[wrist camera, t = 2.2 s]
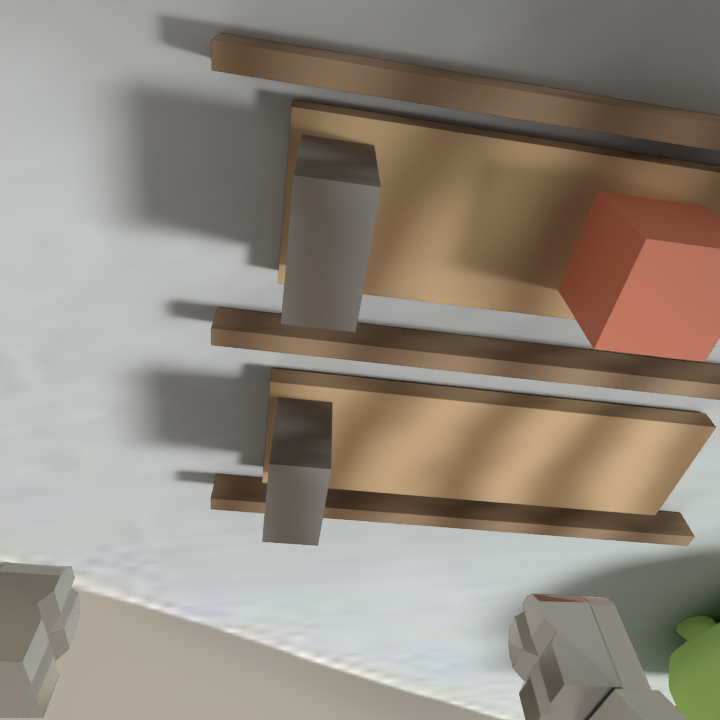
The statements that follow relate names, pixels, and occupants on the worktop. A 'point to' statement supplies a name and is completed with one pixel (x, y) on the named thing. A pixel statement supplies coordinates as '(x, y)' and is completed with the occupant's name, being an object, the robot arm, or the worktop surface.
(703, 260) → the cube
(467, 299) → the strip
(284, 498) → the strip
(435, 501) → the lane rails
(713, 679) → the teapot
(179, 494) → the worktop surface
